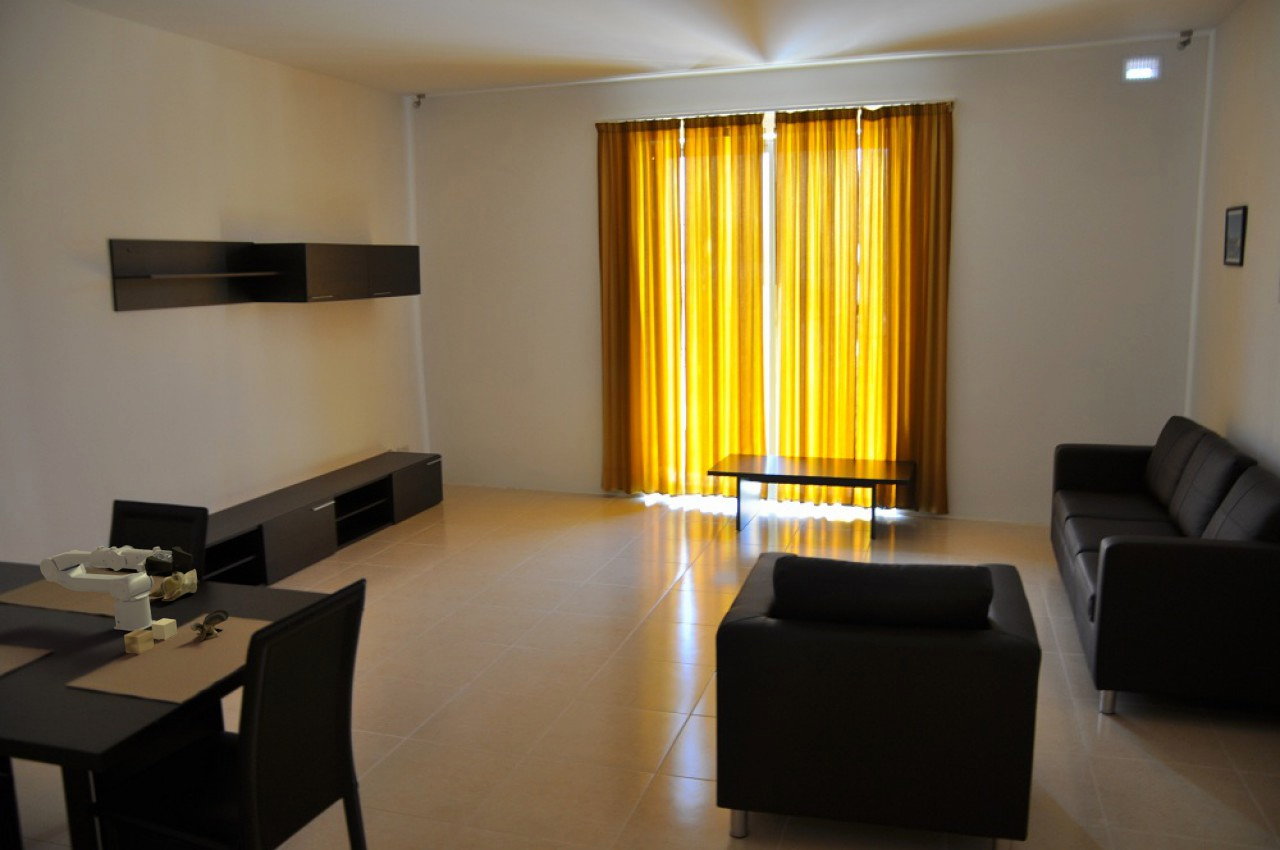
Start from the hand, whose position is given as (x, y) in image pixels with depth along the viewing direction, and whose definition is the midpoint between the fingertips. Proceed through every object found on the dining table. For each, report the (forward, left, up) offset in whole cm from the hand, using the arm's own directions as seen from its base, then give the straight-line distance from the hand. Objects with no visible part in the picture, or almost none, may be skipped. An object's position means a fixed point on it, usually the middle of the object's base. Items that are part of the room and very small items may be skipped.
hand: (181, 562), depth 295 cm
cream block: (-5, -4, -21) cm, 22 cm away
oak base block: (-4, -14, -21) cm, 26 cm away
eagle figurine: (+7, 0, -21) cm, 23 cm away
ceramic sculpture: (-28, +24, -21) cm, 43 cm away
